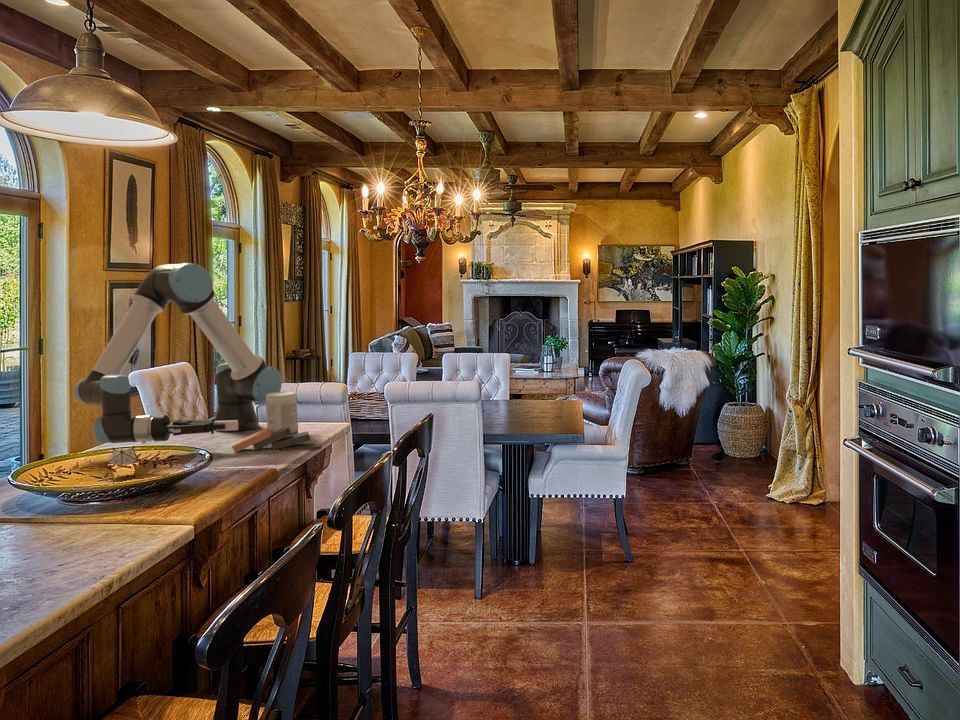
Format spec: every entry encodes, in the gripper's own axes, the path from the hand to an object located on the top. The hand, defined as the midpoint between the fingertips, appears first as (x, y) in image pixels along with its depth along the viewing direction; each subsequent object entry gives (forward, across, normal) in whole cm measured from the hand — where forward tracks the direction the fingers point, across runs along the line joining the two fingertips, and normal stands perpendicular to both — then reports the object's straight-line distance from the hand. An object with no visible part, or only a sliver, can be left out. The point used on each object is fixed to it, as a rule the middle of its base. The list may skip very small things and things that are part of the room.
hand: (237, 425), depth 222 cm
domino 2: (+5, 0, -6) cm, 8 cm away
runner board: (+4, 0, -8) cm, 9 cm away
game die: (-24, +24, -9) cm, 35 cm away
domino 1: (-1, 0, -7) cm, 7 cm away
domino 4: (+12, 0, -8) cm, 15 cm away
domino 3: (+10, -1, -6) cm, 11 cm away
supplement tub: (+10, -21, -9) cm, 25 cm away
